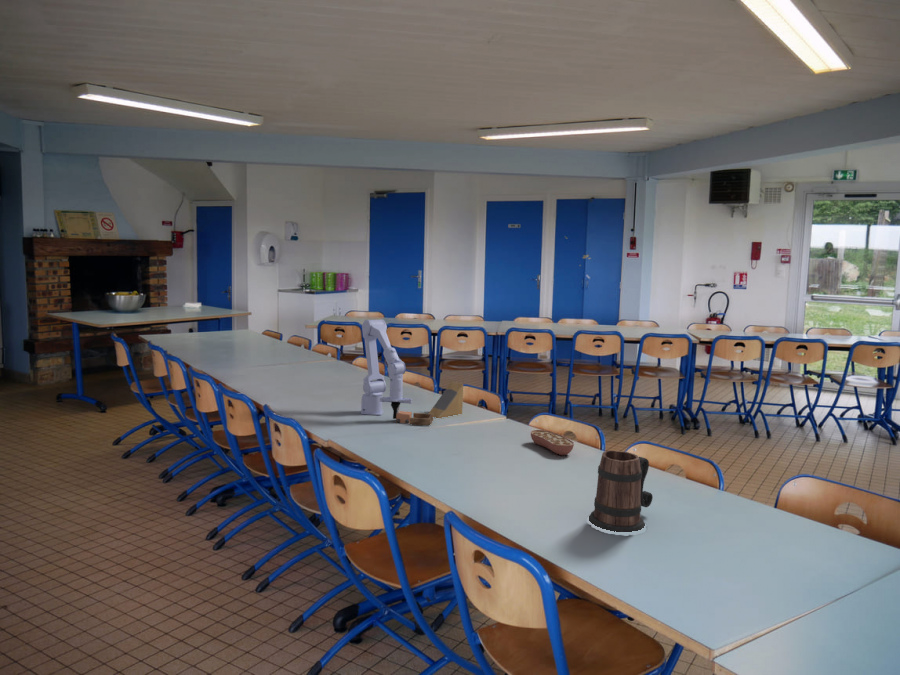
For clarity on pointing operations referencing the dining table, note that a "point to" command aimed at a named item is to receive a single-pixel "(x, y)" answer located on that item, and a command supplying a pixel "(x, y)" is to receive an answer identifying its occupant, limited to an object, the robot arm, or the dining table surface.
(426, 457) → the dining table surface
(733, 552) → the dining table surface
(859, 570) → the dining table surface
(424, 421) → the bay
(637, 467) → the tankard
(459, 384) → the sandwich container
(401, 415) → the cart
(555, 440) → the brown bread loaf
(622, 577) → the dining table surface
